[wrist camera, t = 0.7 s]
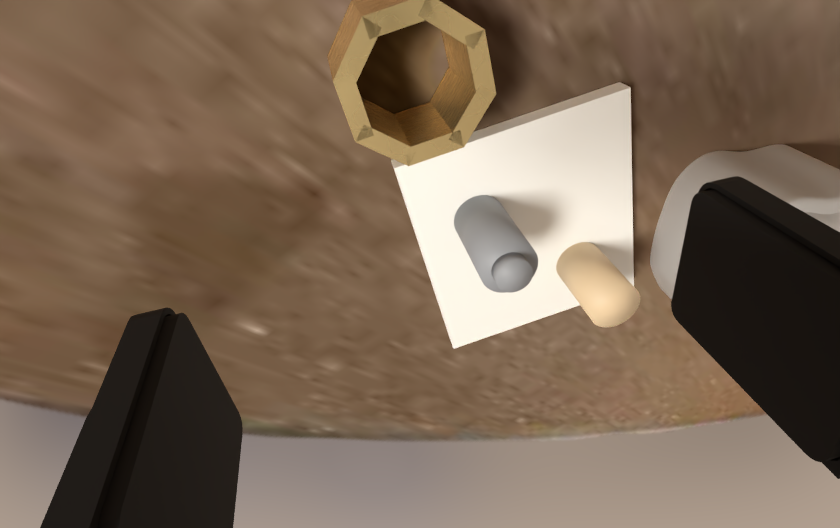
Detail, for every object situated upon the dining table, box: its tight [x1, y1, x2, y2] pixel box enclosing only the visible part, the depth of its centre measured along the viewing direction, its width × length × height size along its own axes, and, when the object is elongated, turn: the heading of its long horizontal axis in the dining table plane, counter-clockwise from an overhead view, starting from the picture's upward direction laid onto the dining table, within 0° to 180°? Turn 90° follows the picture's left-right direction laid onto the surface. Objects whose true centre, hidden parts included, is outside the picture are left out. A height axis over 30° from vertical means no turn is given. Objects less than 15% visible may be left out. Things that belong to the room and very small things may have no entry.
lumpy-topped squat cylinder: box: [650, 144, 840, 299], centre depth 34 cm, size 10×13×9 cm
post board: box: [391, 82, 640, 348], centre depth 31 cm, size 14×15×8 cm
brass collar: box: [327, 0, 496, 166], centre depth 24 cm, size 7×7×5 cm
